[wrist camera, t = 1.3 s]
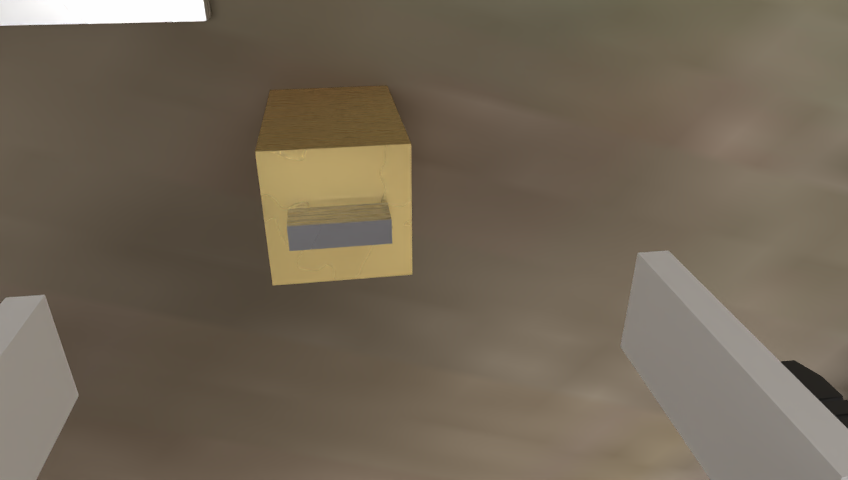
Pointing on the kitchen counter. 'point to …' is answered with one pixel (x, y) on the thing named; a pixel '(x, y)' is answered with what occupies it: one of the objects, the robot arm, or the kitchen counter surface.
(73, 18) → the white slotted rack
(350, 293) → the kitchen counter surface
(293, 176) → the tan rectangular block
